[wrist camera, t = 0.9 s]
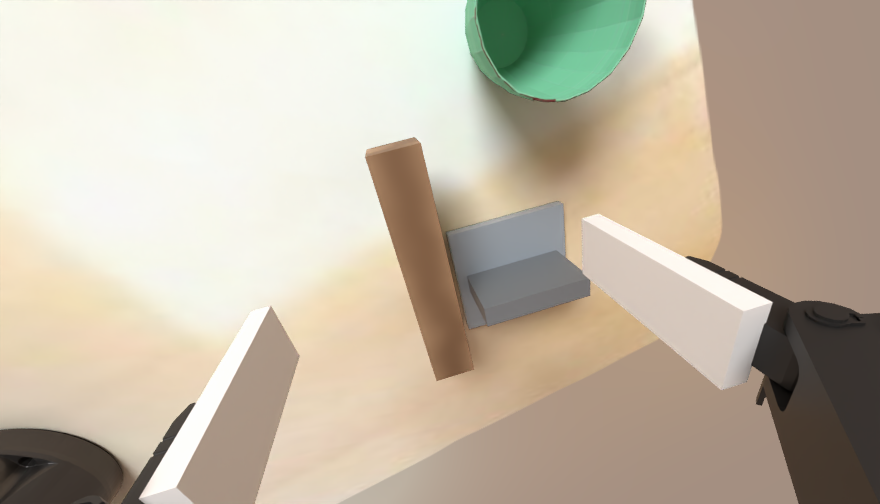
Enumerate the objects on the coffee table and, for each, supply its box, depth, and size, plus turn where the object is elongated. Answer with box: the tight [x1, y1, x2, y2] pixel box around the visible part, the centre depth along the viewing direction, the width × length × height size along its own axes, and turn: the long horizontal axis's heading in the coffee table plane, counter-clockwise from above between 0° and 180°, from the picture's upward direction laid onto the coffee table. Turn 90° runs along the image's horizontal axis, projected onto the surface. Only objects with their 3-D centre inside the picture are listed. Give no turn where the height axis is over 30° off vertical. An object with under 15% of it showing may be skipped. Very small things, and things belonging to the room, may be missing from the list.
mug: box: [465, 0, 646, 102], centre depth 21 cm, size 15×10×10 cm
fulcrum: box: [446, 201, 590, 329], centre depth 32 cm, size 12×12×7 cm
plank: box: [365, 137, 474, 381], centre depth 26 cm, size 4×20×4 cm, turn 13°
